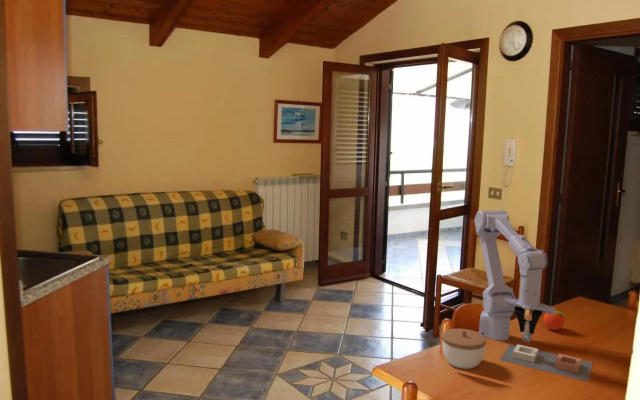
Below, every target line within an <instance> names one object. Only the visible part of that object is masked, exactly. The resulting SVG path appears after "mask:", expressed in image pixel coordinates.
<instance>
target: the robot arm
mask: <svg viewBox="0 0 640 400" xmlns="http://www.w3.org/2000/svg"><path fill="white" fill-rule="evenodd" d="M473 221H474V222H473V223H474V226H475V232H476V235H477V237H479V241H480V246H481V251H482V257H483V261H484V268H485V270H486V277H487V283H488V286H487V287H486V288H485V289H484V290H483V292H482V307H483V310H482V311H481V314H480V318H479V325H478V326H479V327H478V328H479V329H478V333H480V334H482V335H483V336H484V337H485V338H486V339H487V338H488V339H490V340H494V341H499V342H500V341H508V340H509V339H510V328H511V316H513V313H514V314H515V317H516V320H517V323H518V325H519V332H521V333H523V323H524V319H525V317H526V316H525V315H526V310H527V311H529V310H530V311H532V312H531V320H532V325H531V332H530V334H531V335H534V334H535V329H536V326H537V324H538V321H539V320H540V318H541V316H542V315H543V313H544V314H546V313H548V314H550V315H554V314H555V311H556V306H550V305H547V304H544V303H541V301H540V300H541V288H542V287H541V286H542V277H543V270H545V268H547V266H548V257H547V255H546V253H545V251H544V250H543V249H538V248H535V247H534V245H533V244H532V243H531V242H530V241H529V239H527V237H526V236H525V235H523V234H518V232H517V231H516V230H515V228H514V227H513V225H512V223H511V222H510V215H509V214H508V212H507V211H506V210H505V209H500V210H481V209H480V210H478V211H477V212H476V214H475V216H474V219H473ZM501 235H502V236H503V237H505V239H506V240H507V241H508V247H509V248H510V250H511V251H512V253H514V255H515V257H516V258H517V263H518V266H519V274H520V284H519V285H520V286H519V287H520V288H519V298H518V299H517V298H516V296H515V294H514V290H513V288H511V287H510V286H509V285H507V284H506V283H505V278H504V274H503V267H502V264H501V259H500V253H499V249H498V245H497V243H498V242H497V238H498V237H499V236H501Z"/></svg>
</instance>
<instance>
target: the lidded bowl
mask: <svg viewBox="0 0 640 400" xmlns="http://www.w3.org/2000/svg"><path fill="white" fill-rule="evenodd" d="M482 334H483V333H482ZM482 334H480V333H479V331H475V330H471V329H467V328H450V329H447V330H445V331H443V332H442V334H441V335H442V336H441V339H442V343H441V345H442V353H443V356H444V358H445V360H446V362H448V363H449V365H451V366H453V367H454V370H458V371H461V370H462V371H463V372H465V370H467V369H468V370H469V369H473V368H476V367H477V366H479V365H480V363H482V361H483V359H484V357H485V351H486V345H487V338H486V337H484V336H483V335H482ZM464 369H465V370H464Z"/></svg>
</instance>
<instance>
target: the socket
mask: <svg viewBox="0 0 640 400" xmlns="http://www.w3.org/2000/svg"><path fill="white" fill-rule="evenodd" d="M557 355H558V356H557V359H556V361H555V368H558V369H562V370H566V371H570V372H575V373H579V369H580V366H581V360H582V358H579V357H575V356H571V355H566V354H562V353H558V354H557Z"/></svg>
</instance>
